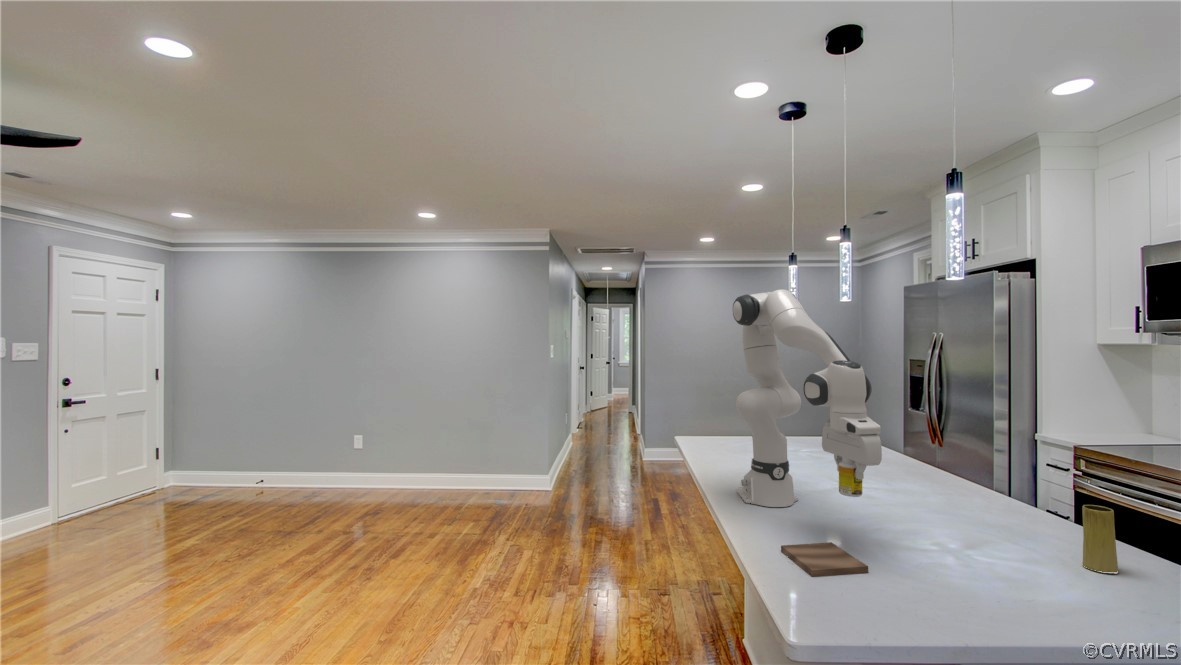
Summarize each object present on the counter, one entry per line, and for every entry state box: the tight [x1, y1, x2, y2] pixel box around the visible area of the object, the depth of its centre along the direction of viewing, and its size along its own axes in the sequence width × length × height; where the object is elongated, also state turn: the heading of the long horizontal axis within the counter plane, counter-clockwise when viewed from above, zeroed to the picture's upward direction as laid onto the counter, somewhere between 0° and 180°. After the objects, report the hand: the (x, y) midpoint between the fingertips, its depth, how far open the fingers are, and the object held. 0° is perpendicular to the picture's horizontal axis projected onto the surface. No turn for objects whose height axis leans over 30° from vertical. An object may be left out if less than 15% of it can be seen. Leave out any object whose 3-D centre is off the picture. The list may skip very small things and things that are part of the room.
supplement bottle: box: [838, 457, 863, 498], centre depth 135 cm, size 6×6×10 cm
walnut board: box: [780, 541, 869, 578], centre depth 128 cm, size 15×14×2 cm
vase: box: [1081, 504, 1120, 572], centre depth 121 cm, size 6×6×14 cm
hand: (850, 475), depth 135 cm, fingers closed on supplement bottle, 5 cm apart
